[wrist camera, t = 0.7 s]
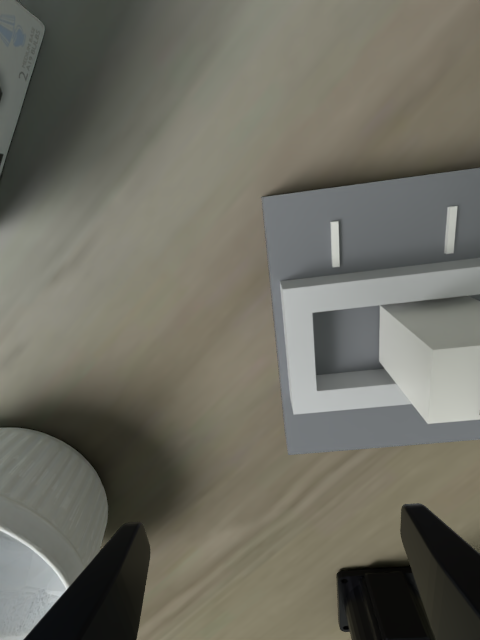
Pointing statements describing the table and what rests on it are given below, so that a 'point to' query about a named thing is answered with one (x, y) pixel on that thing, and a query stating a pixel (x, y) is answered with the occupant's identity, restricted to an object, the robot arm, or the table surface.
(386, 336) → the fader knob
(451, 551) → the robot arm
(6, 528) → the ramekin
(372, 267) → the console
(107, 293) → the table surface
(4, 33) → the thin grey upright strip
